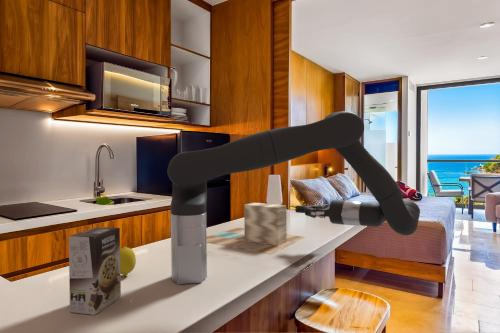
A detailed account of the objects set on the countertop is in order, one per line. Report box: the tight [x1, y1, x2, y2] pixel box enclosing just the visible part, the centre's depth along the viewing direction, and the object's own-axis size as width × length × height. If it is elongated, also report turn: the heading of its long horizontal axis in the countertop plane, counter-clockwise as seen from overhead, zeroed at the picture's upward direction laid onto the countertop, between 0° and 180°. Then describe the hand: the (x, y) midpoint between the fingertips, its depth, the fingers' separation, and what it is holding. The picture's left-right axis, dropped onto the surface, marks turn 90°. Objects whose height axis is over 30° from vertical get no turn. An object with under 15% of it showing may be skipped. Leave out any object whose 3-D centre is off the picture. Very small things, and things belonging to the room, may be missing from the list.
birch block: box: [243, 202, 287, 246], centre depth 119 cm, size 14×6×13 cm, turn 56°
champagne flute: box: [266, 174, 283, 205], centre depth 139 cm, size 7×7×24 cm
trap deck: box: [206, 227, 306, 255], centre depth 123 cm, size 32×26×2 cm
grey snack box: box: [68, 226, 122, 316], centre depth 72 cm, size 9×6×16 cm
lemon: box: [120, 246, 137, 277], centre depth 89 cm, size 6×6×8 cm
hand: (296, 208), depth 112 cm, fingers closed
